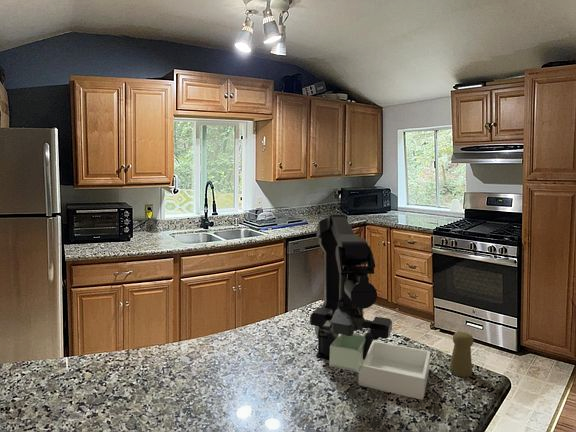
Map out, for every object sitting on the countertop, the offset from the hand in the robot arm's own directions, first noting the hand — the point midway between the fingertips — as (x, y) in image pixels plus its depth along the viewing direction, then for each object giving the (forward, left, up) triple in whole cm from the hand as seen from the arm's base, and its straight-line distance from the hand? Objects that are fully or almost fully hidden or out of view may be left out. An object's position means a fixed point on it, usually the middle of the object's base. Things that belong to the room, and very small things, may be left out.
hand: (349, 355), depth 101 cm
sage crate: (0, 0, -1) cm, 1 cm away
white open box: (+9, +15, -11) cm, 20 cm away
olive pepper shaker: (+25, +26, -11) cm, 38 cm away
